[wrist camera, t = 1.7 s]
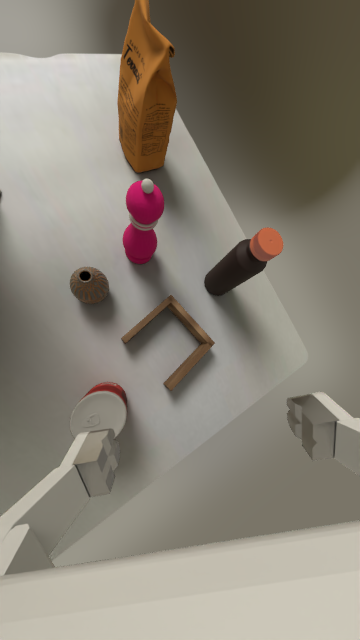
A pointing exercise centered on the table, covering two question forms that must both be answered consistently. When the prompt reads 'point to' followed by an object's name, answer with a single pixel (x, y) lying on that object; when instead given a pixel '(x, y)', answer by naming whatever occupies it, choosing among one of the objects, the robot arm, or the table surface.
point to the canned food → (100, 410)
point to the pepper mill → (142, 220)
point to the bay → (190, 325)
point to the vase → (89, 285)
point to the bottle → (244, 261)
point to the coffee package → (145, 92)
